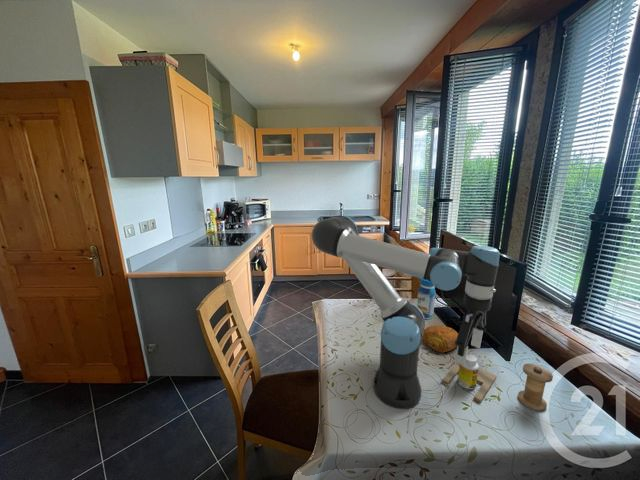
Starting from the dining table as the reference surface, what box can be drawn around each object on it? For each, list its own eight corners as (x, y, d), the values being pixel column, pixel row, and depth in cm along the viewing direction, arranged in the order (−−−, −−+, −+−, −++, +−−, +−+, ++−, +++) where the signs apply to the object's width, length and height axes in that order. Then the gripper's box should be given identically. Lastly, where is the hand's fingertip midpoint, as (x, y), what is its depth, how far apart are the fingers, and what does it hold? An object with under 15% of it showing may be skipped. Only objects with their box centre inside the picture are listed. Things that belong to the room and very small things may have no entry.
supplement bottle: (472, 392, 86) (476, 365, 84) (454, 383, 90) (457, 356, 88) (478, 384, 89) (482, 357, 87) (461, 375, 94) (464, 350, 91)
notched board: (480, 403, 82) (480, 400, 82) (441, 382, 90) (441, 379, 90) (496, 378, 92) (496, 375, 92) (460, 361, 101) (460, 359, 101)
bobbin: (544, 415, 77) (551, 380, 75) (515, 401, 83) (521, 368, 80) (548, 402, 82) (555, 369, 80) (520, 389, 87) (526, 358, 85)
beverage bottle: (436, 319, 132) (440, 281, 128) (419, 319, 132) (422, 281, 128) (429, 311, 140) (432, 275, 136) (413, 311, 140) (416, 275, 136)
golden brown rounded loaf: (465, 350, 111) (470, 333, 110) (443, 358, 103) (447, 339, 102) (435, 333, 123) (439, 317, 122) (413, 338, 115) (417, 321, 114)
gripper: (477, 311, 72) (465, 378, 77) (503, 288, 88) (492, 344, 93) (449, 302, 77) (440, 365, 82) (478, 282, 94) (469, 335, 99)
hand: (468, 354), depth 88 cm, fingers open, 13 cm apart
